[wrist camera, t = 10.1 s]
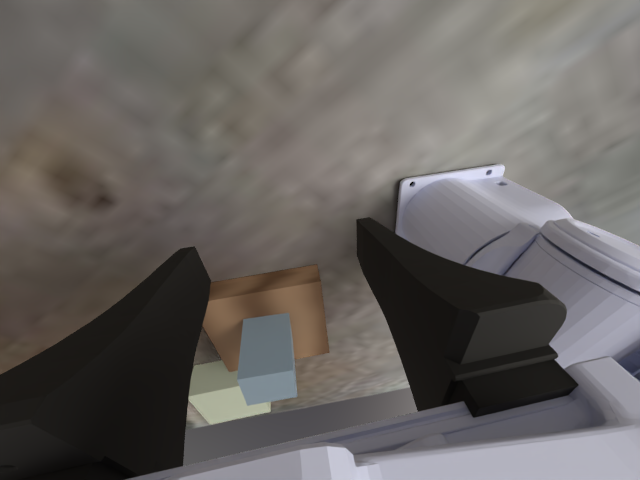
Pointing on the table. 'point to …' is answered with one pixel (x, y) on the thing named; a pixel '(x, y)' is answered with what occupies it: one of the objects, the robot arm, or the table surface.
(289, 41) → the table surface
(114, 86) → the table surface
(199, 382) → the sage block
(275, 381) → the slate block
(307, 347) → the walnut block
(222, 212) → the table surface
